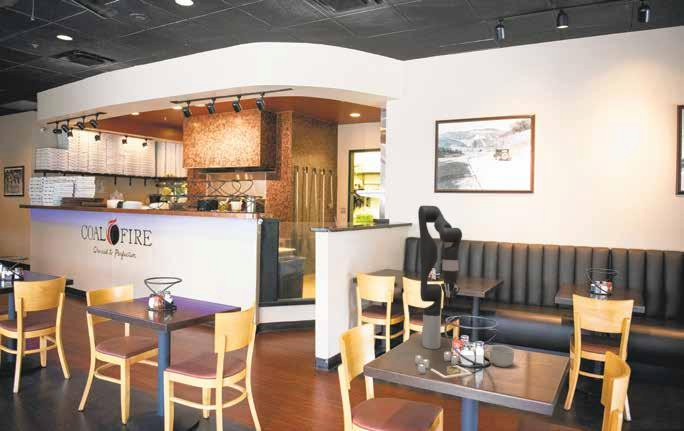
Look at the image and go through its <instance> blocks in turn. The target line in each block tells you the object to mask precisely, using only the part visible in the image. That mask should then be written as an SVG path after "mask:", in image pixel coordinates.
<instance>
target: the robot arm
mask: <svg viewBox="0 0 684 431" xmlns="http://www.w3.org/2000/svg"><path fill="white" fill-rule="evenodd" d="M417 214H418V215H417V216H418V228H419V258H420V259H419V260H420V289H419V291H420V292H419V293H420V300H421V301H422V302H426V303H427V302H432V304H430V305H429V306H426V307H424V308H423V309H422V328H421V333H422V334H421V337H422V338H421V345H422V347H423V348H425V349H430V350H432V349H433V350H436V349H437V350H438V349H440V348H441V332H442V331H441V329H442V328H441V327H442V326H441V325H442V324H441V322H442V321H441V318H442V313H441V312H442V297H443V295H444V296H445V297H446V305H448V306H453V304H454V298H455V297H457V295H458V293H459V291H460V289H461V288H460V286H458V285H457V283H458V282H457V280H459V250H460V246H461V242H462V239H463V233H462V232H463V231H462V230H461V229H460V227H452V225H451V223H449V222H448V221H447V220H446V219H445V217H444V215H443V213H442V210H440V208H439V207H438V206H436V205H420V206H419V208H418V212H417ZM427 223H432V224H433V227H434V229H435V230H436V232H437V233H438V234H439V239H440V241H441V242H443V243H451V245H450V246H446V247H444V248H443V250H442V265H441V266H442V268H441V270H442V274H441V278H442V279H443V282H442V283H440V284H439V283H428V280H429V276H430V274H431V272H432V270H433V269H434V267H435V266H436V264H437V262H438V258H439V256H438V245H437V243H436V241H435V240H434V238H433V237H432V235H431V234H430V232H429V229H428V224H427Z"/></svg>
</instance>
